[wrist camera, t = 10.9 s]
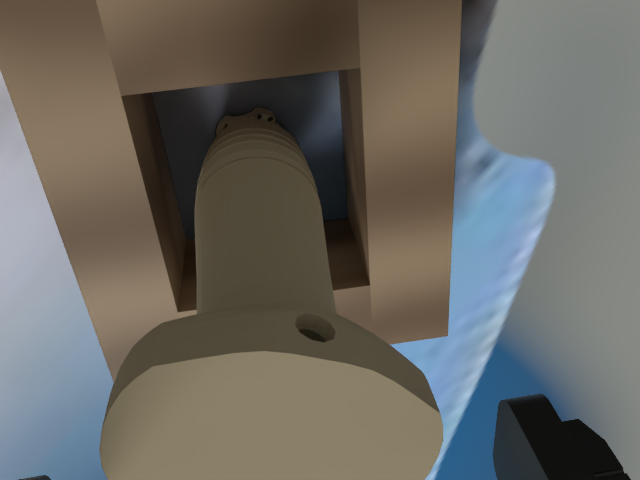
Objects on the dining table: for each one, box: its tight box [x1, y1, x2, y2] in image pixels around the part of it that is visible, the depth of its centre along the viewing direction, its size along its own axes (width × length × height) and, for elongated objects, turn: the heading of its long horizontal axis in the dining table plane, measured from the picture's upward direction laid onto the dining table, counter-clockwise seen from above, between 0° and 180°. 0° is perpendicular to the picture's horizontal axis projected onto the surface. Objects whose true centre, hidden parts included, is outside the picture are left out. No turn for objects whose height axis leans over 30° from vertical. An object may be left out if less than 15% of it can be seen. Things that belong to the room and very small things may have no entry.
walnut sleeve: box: [0, 0, 462, 382], centre depth 22 cm, size 14×13×5 cm
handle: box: [100, 108, 443, 480], centre depth 18 cm, size 5×6×15 cm
